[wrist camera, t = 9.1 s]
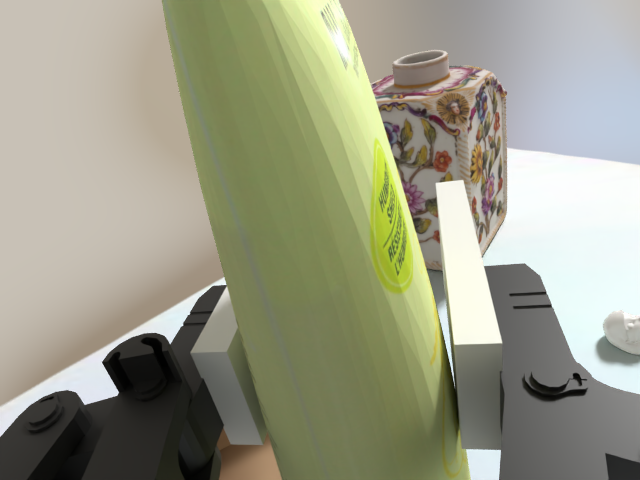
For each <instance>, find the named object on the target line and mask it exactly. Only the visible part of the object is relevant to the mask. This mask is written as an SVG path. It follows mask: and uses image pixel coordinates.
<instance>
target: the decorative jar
mask: <svg viewBox="0 0 640 480" xmlns="http://www.w3.org/2000/svg"><path fill="white" fill-rule="evenodd" d="M370 85H371V88H372V91H373V93H374V96H375V99H376V102H377V106H378V109H379V112H380V115H381V118H382V122H383V125H384V128H385V131H386V135H387V138H388V141H389V144H390V147H391V151H392V154H393V157H394V160H395V163H396V167H397V170H398V173H399V177H400V180H401V183H402V187H403V190H404V194H405V197H406V200H407V204H408V207H409V211H410V214H411V217H412V221H413V224H414V228H415V231H416V234H417V238H418V241H419V245H420V248H421V252H422V255H423V259H424V262H425V266H426V268H427V269H433V270H440V271H443V269H442V258H441V246H440V233H439V221H438V208H437V195H436V183H440V182H449V181H458V180H463V181H464V186H465V190H466V194H467V198H468V202H469V206H470V211H471V215H472V219H473V223H474V227H475V231H476V236H477V240H478V244H479V248H480V252H481V256H482V255H483V254H484V252H485V251H486V249H487V247H488V245H489V244H490V242H491V241H492V239H493V237H494V235H495V234H496V232H497V230H498V229H499V227H500V225H501V223H502V222H503V220H504V218H505V216H506V212H507V143H506V142H507V135H506V97H505V96H506V95H507V92H506V91H505V90H504V89H503V87H502V85H501V83H500V82H499V81H498V80H497V79H496V77H495V76H494V74H493V73H492V72H489V71H487V70H484V69H481V68H478V67H472V66H449V63H448V54H447V52H445V51H441V50H430V51H424V52H419V53H415V54H411V55H407V56H404V57H402V58H399V59H398V60H396V61H395V62H393V75H390V76H388V77H385V78H384V79H380V80H378V81H375V82H373V83H372V84H370Z"/></svg>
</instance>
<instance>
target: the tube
mask: <svg viewBox="0 0 640 480" xmlns="http://www.w3.org/2000/svg"><path fill="white" fill-rule="evenodd" d="M162 4H163V10H164V16H165V21H166V28H167V33H168V38H169V42H170V48H171V53H172V57H173V62H174V67H175V72H176V77H177V82H178V87H179V92H180V96H181V101H182V105H183V110H184V115H185V119H186V123H187V128H188V132H189V136H190V141H191V145H192V150H193V154H194V159H195V163H196V167H197V172H198V176H199V181H200V185H201V189H202V193H203V197H204V201H205V204H206V209H207V212H208V216H209V220H210V224H211V227H212V231H213V235H214V239H215V243H216V246H217V250H218V254H219V258H220V262H221V265H222V269H223V273H224V277H225V280H226V284H227V288H228V292H229V296H230V299H231V303H232V307H233V311H234V314H235V318H236V322H237V326H238V329H239V333H240V337H241V340H242V344H243V348H244V351H245V355H246V358H247V362H248V366H249V369H250V373H251V376H252V380H253V383H254V387H255V390H256V394H257V397H258V401H259V404H260V408H261V411H262V414H263V418H264V421H265V425H266V428H267V432H268V435H269V439H270V442H271V445H272V449H273V452H274V456H275V459H276V462H277V466H278V469H279V472H280V475H281V478H282V480H471V479H470V472H469V466H468V459H467V453H466V449H462V447H461V438H460V428H459V418H458V407H457V398H456V391H455V386H454V381H453V376H452V372H451V367H450V362H449V358H448V353H447V349H446V344H445V340H444V336H443V331H442V327H441V323H440V319H439V315H438V311H437V307H436V303H435V299H434V295H433V291H432V287H431V284H430V280H429V277H428V273H427V270H426V266H425V262H424V259H423V255H422V252H421V248H420V245H419V241H418V238H417V234H416V231H415V228H414V224H413V221H412V217H411V214H410V211H409V207H408V204H407V200H406V197H405V194H404V190H403V187H402V183H401V180H400V177H399V173H398V170H397V167H396V163H395V160H394V157H393V154H392V151H391V147H390V144H389V141H388V138H387V135H386V131H385V128H384V125H383V122H382V118H381V115H380V112H379V109H378V106H377V102H376V99H375V96H374V93H373V91H372V88H371V85H370V82H369V79H368V76H367V73H366V71H365V67H364V65H363V62H362V59H361V56H360V54H359V50H358V47H357V45H356V42H355V39H354V36H353V33H352V30H351V28H350V25H349V23H348V21H347V18H346V16H345V14H344V12H343V9H342V7H341V5H340V2H339V0H162Z"/></svg>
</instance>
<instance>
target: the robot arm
mask: <svg viewBox="0 0 640 480" xmlns="http://www.w3.org/2000/svg"><path fill="white" fill-rule="evenodd" d="M436 195H437V208H438V221H439V233H440V246H441V258H442V269H443V278H444V287H445V297H446V306H447V316H448V325H449V334H450V344H451V353H452V363H453V372H454V381H455V391H456V398H457V407H458V418H459V428H460V438H461V447H462V449H488V450H501V460H500V475H499V480H640V394H635V393H631V392H626V391H623V390H619V389H616V388H613V387H610V386H608V385H605V384H603V383H601V382H599V381H597V380H595V379H594V378H592V376H591V374H590V373H589V372H588V371H587V370H586V369H585V368H584V367H583V366H582V365H581V364H579V363H577V362H576V361H575V359H574V358H573V356H572V354H571V351H570V349H569V346H568V344H567V341H566V339H565V336H564V334H563V331H562V329H561V327H560V324H559V322H558V319H557V317H556V314H555V312H554V309H553V308H552V305H551V302H550V300H549V297H548V295H547V294H546V290H545V287H544V285H543V282H542V280H541V277H540V276H539V275H538V274H537V273H536V272H534V271H533V270H532V269H531V268H530V267H528V266H527V265H526V264H511V265H496V266H484V265H483V260H482V256H481V252H480V248H479V244H478V240H477V236H476V231H475V227H474V223H473V219H472V215H471V211H470V206H469V202H468V198H467V194H466V190H465V186H464V181H463V180H458V181H449V182H440V183H436ZM183 324H184V325H183V326H181V328H180V330H179V331H178V333H177V335H176V336H175V338H174V339H173V341H172V343H171V344H169V342H168V340H167V339H166V337H165V336H163V335H160V334H157V333H146V334H142V335H138V336H135V337H132V338H130V339H128V340H126V341H124V342H123V343H121V344H119V345H118V346H117V347H115V348H114V349H113V350H112V351H111V352H109V354H108V355H107V356H106V358H105V359H104V360H103V362H102V363H103V365H104V367H105V369H106V370H107V372H108V374H109V376H110V377H111V379H112V381H113V382H114V384H115V386H116V388H117V389H118V391H119V394H118V396H115V397H112V398H108V399H105V400H101V401H98V402H94V403H90V404H87V405H84V403H83V402H82V400H81V399H80V397H79V396H78V395H77V393H76V392H72V391H68V390H66V391H59V392H55V393H52V394H50V395H47V396H45V397H43V398H41V399H39V400H38V401H36V402H35V403H33V404H32V405H30V406H29V407H28V408H27V409H26V410H25V411H24V412H23V413H22V414H20V415H19V416H18V418H17V419H16V420H15V421H14V422H13V423H12V424H11V426H10V427H9V428H8V429H7V430H6V431H5V432H4V434H3V435H2V436H1V437H0V480H219V477H220V470H221V464H222V463H221V453H220V451H219V449H218V447H217V442H218V440H219V437H220V435H221V432H222V429H223V428H224V430H225V433H226V435H227V437H228V439H229V442H230V444H234V445H263V444H264V441H265V437H266V434H267V428H266V425H265V421H264V418H263V414H262V411H261V408H260V404H259V401H258V397H257V394H256V390H255V387H254V383H253V380H252V376H251V373H250V369H249V366H248V362H247V358H246V355H245V351H244V348H243V344H242V340H241V337H240V333H239V329H238V326H237V322H236V318H235V314H234V311H233V307H232V303H231V299H230V296H229V292H228V288H227V285H221V286H212V287H211V288H210V289H209V290H208V291H207V292H205V293H204V294H203V295H202V296H201V297H200V298H199V299H198V300H197V302H196V303H195V305H194V307H193V308H192V310H191V312H190V315H188V317H187V318H186V320H185V321H184V323H183Z"/></svg>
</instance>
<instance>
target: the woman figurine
mask: <svg viewBox="0 0 640 480" xmlns="http://www.w3.org/2000/svg"><path fill="white" fill-rule="evenodd" d="M603 330H604V333H605V335H606V338H607V340H608V341H609V342H610V343H611V344H612V345H614V346H615V347H617V348H619V349H621V350H623V351H626V352H628V353H630V354H636V355H640V315H636V316H635V315H631V314H629V313H628V314H627V313H624V312H623V311H622V310H621V311H615V312H613V313H611V314H610V315H609V316H608V317H607V318H606V319H605V321H604V323H603Z"/></svg>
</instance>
